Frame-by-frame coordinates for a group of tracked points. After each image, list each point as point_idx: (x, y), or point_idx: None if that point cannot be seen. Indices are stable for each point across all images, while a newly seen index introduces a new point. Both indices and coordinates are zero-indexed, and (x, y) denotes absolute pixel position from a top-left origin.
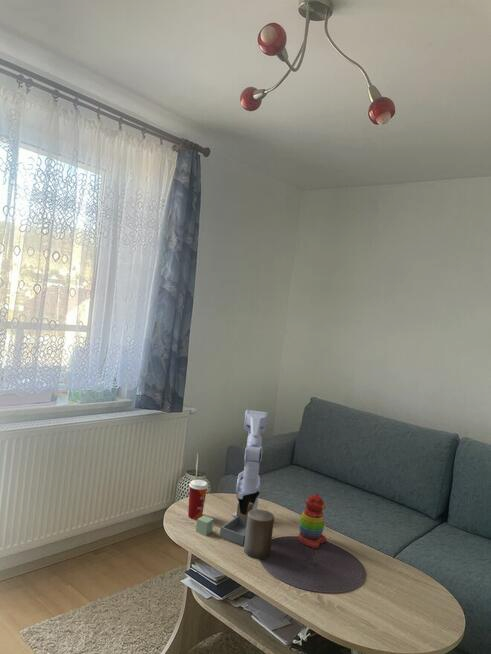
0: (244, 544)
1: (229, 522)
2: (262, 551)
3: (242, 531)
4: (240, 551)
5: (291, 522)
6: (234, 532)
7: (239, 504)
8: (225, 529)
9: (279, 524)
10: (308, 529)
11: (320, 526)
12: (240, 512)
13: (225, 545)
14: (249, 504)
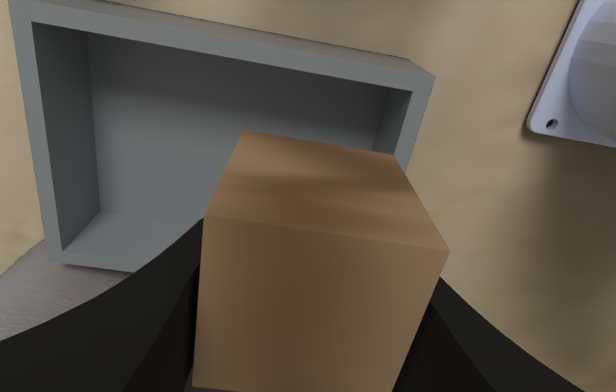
0: (21, 262)
1: (197, 48)
2: None
3: None
4: (26, 219)
5: (607, 363)
6: (35, 174)
7: (117, 287)
8: (20, 66)
9: (553, 318)
10: None
11: None
12: (194, 224)
13: (5, 98)
14: (304, 379)
